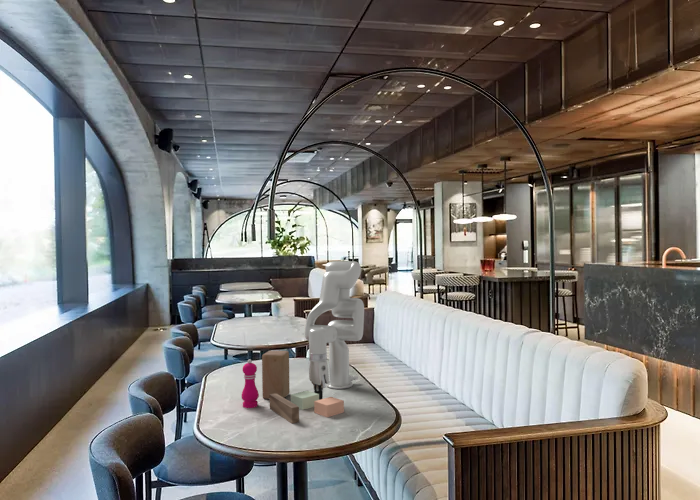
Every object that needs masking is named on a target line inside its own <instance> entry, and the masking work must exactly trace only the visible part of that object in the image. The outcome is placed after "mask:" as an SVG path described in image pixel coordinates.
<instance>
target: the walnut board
mask: <svg viewBox="0 0 700 500" xmlns="http://www.w3.org/2000/svg"><path fill="white" fill-rule="evenodd" d="M269 398H270V399H269V410H271V411H273V412H274V413H275V414H277V416H280V417H281V418H282V419H284V420H285V421H288V422H289V423H291V424H296V423H299V422H300V409H299V406H297V405H295V404H293V403H292V402H291V400H288V399H286V397H285V398H283V397H281V396H280V395H278V394H276V393H275V394H269Z"/></svg>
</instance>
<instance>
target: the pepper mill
mask: <svg viewBox="0 0 700 500" xmlns="http://www.w3.org/2000/svg"><path fill="white" fill-rule="evenodd" d="M257 371H258V366H257V365H256V364H255V363H254V362H252V359H251V358H250V359H248V360H247V363H245V364H244V365H243V366H242V373H243V378H244V386H243V389H242V391H241V399H242V401H243V402H242V407H243V408H244V409H254V408H257V407H258V405H259V404H258V403H259V402H258V399H259V397H260V395H259V390H258V388H257V386H256V381H255V380H256V378H257V377H256V376H257V374H256V373H257Z"/></svg>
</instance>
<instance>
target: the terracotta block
mask: <svg viewBox="0 0 700 500" xmlns="http://www.w3.org/2000/svg"><path fill="white" fill-rule="evenodd" d="M344 402H345V401H344V400H343V399H341V398H336V397H334V396H329V397H325V398H324V397H323V399H321V400H317V401H314V407H313V409H314V410H313V411H314V414H317V415H320V416H322V417H324V418H330V417H333V416H337V415H339V414H343V413H345V403H344Z"/></svg>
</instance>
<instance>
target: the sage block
mask: <svg viewBox="0 0 700 500" xmlns="http://www.w3.org/2000/svg"><path fill="white" fill-rule="evenodd" d="M317 400H319V394H317V393H314V391H310V390H305V391H301V392H296V393H291V394H290V402H292V403H293V404H295V405H297V406H299V410H302V411H303V410H307V409H311V408H314V401H317Z"/></svg>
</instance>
